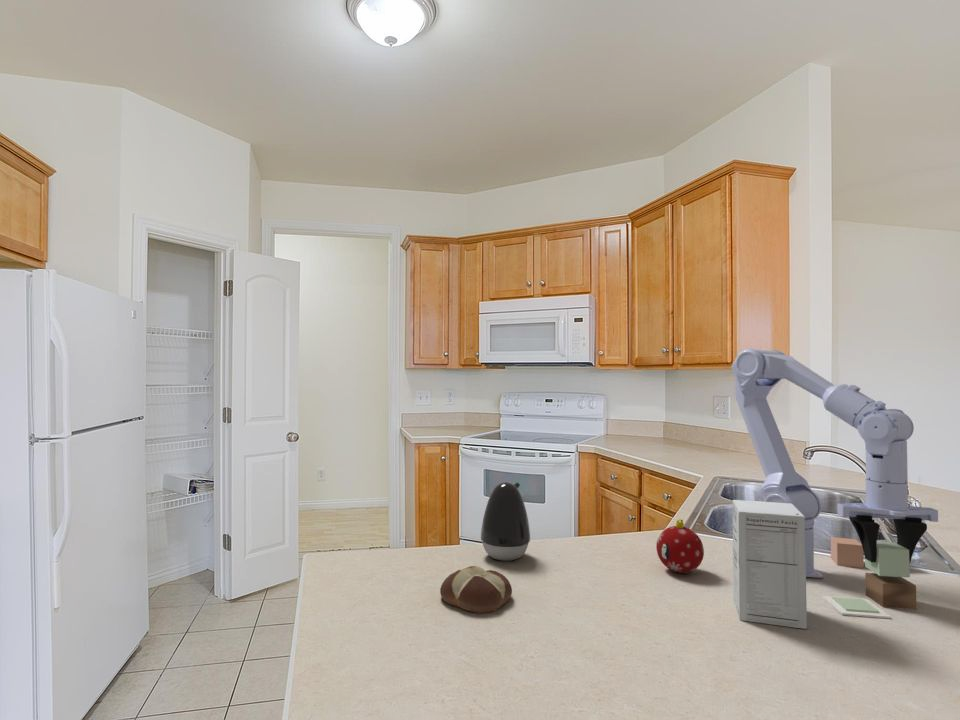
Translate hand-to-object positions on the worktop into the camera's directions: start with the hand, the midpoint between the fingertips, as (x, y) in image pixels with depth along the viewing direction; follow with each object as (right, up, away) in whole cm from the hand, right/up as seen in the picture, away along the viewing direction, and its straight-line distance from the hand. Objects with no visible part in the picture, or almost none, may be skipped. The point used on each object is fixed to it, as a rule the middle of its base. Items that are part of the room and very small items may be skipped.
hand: (887, 561), depth 92 cm
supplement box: (-23, -6, -6) cm, 25 cm away
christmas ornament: (-30, -7, +13) cm, 34 cm away
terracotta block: (+6, -8, +19) cm, 21 cm away
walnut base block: (0, -7, -1) cm, 7 cm away
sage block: (0, -2, 0) cm, 2 cm away
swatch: (-8, -6, -3) cm, 10 cm away
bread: (-69, -6, -1) cm, 70 cm away
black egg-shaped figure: (-64, -7, +20) cm, 67 cm away
